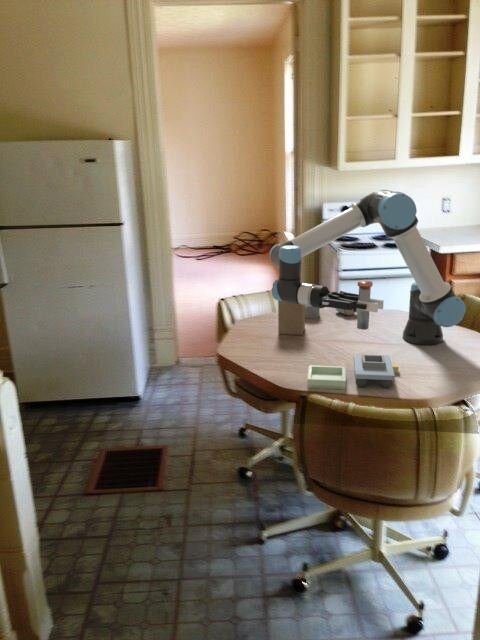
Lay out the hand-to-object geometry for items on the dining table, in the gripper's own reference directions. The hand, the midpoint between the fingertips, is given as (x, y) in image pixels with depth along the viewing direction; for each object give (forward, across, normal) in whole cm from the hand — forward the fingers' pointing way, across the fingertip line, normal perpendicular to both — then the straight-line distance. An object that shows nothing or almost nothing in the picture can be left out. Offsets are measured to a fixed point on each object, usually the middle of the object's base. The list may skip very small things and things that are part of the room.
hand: (379, 306), depth 176 cm
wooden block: (-51, -30, -26) cm, 65 cm away
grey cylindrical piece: (-56, -56, -26) cm, 84 cm away
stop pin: (-5, 0, -8) cm, 10 cm away
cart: (-1, -4, -26) cm, 26 cm away
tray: (-14, +8, -26) cm, 30 cm away
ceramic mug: (-43, -66, -26) cm, 83 cm away
